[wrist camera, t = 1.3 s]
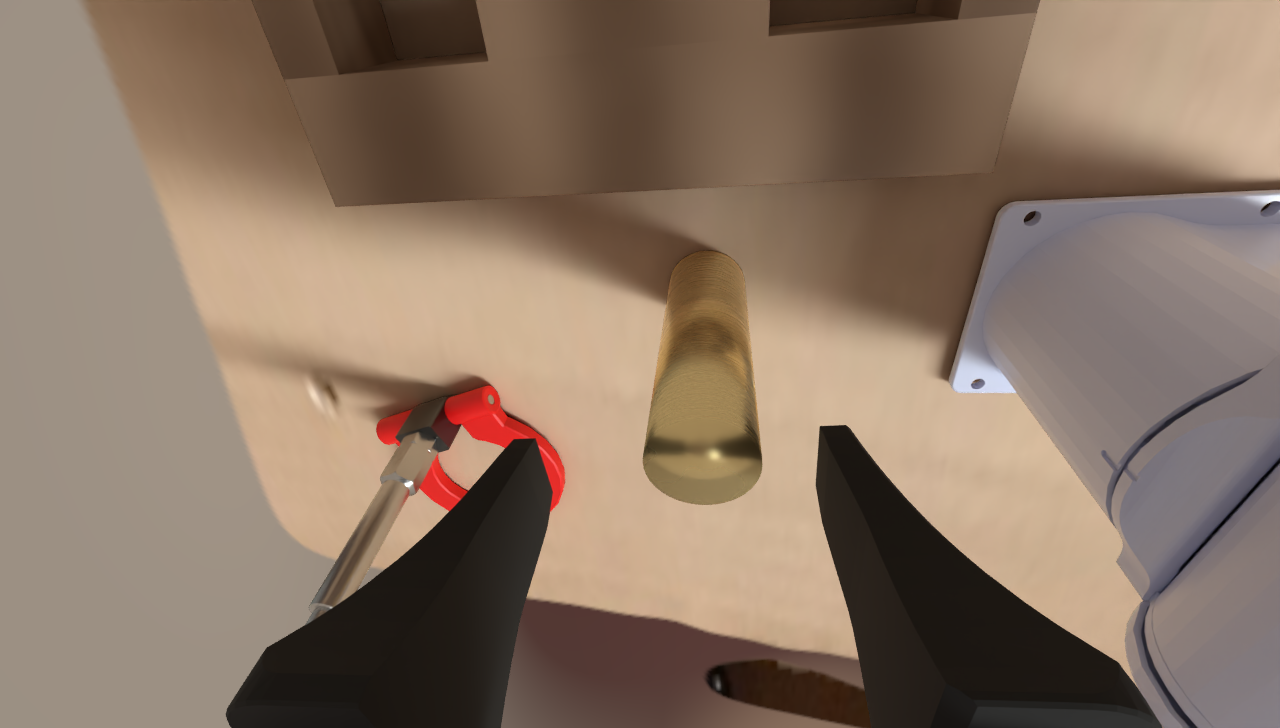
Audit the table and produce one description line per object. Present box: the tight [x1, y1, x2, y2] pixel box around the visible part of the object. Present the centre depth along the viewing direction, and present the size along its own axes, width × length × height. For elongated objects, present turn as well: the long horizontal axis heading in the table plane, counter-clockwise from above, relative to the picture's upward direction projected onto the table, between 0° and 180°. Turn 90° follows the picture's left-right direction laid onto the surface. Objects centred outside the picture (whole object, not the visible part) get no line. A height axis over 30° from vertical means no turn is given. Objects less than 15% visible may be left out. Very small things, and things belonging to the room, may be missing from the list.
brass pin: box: [643, 251, 762, 505], centre depth 18 cm, size 3×3×10 cm
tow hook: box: [305, 385, 565, 625], centre depth 24 cm, size 8×13×9 cm
